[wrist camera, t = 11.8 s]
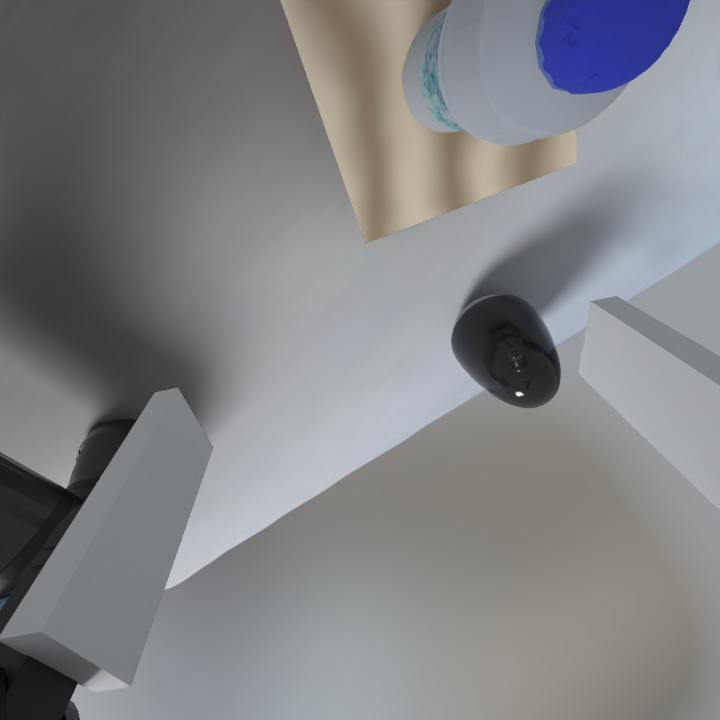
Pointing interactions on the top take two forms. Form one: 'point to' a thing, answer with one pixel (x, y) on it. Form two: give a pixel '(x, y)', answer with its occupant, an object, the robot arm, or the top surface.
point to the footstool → (399, 118)
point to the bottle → (531, 63)
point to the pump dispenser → (507, 350)
